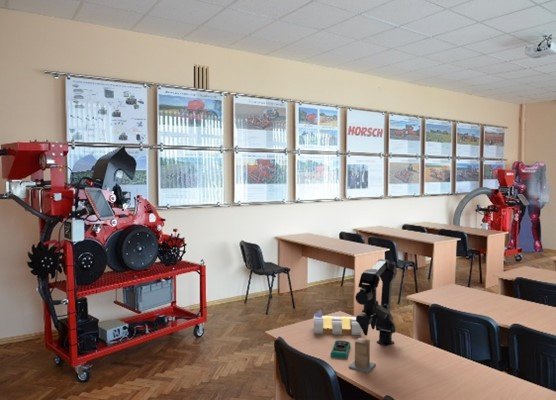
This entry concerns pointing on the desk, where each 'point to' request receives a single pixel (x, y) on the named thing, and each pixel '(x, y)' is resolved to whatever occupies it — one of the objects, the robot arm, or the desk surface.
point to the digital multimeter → (340, 349)
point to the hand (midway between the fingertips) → (369, 332)
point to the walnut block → (362, 352)
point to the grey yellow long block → (335, 324)
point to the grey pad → (362, 368)
